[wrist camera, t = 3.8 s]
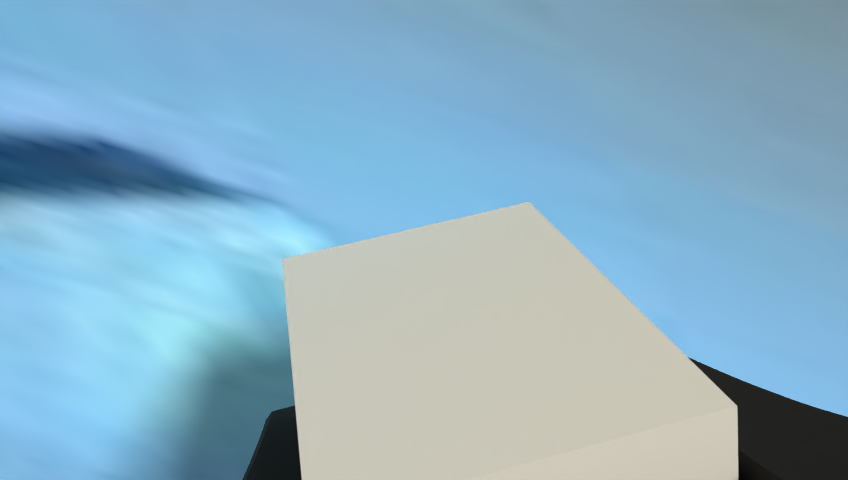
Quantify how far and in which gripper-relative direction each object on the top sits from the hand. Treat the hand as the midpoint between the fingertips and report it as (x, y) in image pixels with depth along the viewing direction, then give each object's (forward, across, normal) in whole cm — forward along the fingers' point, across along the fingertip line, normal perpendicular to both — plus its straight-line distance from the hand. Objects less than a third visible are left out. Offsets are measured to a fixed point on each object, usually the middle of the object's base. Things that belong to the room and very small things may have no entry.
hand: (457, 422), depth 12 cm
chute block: (+2, 0, 0) cm, 2 cm away
